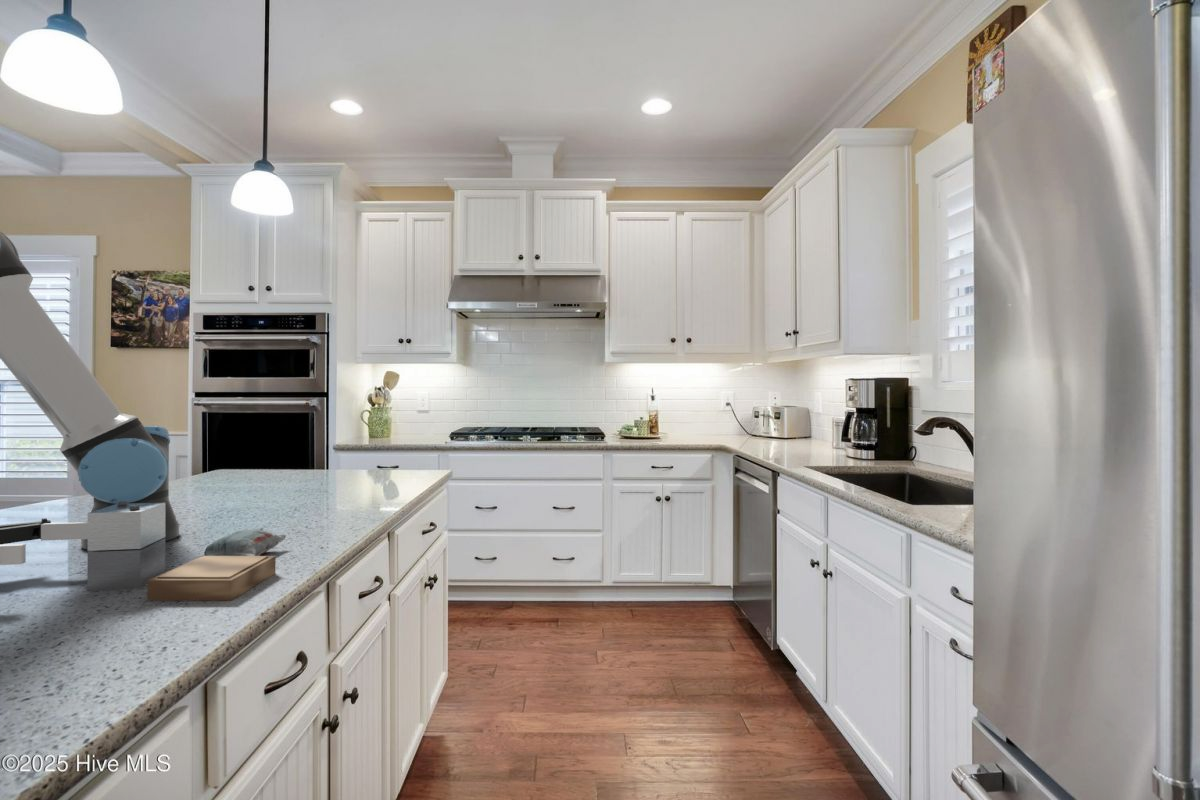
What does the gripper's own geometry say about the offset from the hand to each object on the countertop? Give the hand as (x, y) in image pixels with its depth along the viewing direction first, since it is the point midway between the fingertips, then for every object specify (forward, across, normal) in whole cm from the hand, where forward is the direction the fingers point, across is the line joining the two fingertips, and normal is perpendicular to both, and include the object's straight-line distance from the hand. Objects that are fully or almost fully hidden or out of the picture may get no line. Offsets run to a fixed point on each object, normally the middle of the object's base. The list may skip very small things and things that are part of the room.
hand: (59, 541), depth 86 cm
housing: (+9, 0, -7) cm, 12 cm away
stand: (+24, +4, -7) cm, 25 cm away
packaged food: (+22, -11, -7) cm, 26 cm away
